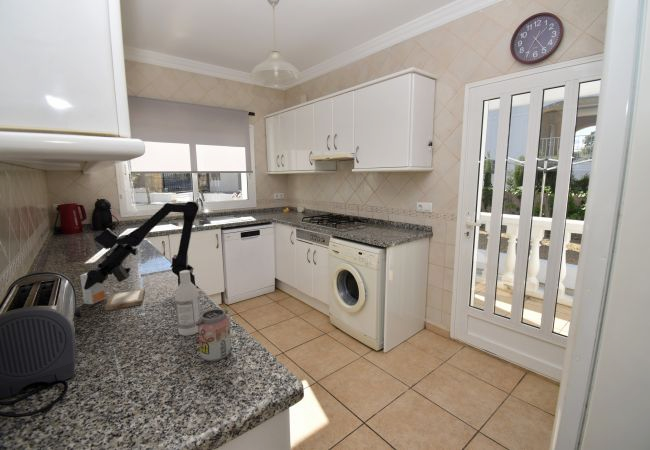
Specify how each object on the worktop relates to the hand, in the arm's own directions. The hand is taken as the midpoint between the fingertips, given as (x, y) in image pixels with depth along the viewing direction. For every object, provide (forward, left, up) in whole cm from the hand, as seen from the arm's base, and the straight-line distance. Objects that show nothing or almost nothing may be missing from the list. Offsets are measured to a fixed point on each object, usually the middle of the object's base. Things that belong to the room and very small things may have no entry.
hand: (88, 286), depth 121 cm
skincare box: (-1, -1, -7) cm, 7 cm away
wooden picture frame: (-13, -5, -7) cm, 15 cm away
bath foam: (-56, +7, -7) cm, 57 cm away
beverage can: (-72, +15, -7) cm, 74 cm away
